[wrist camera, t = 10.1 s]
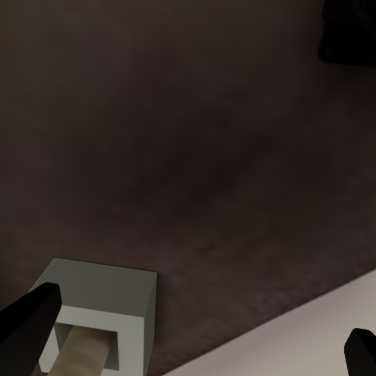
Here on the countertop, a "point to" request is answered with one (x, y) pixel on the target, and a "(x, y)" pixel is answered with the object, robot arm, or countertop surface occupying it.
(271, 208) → the countertop surface
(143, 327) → the socket block
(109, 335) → the peg
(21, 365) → the robot arm
